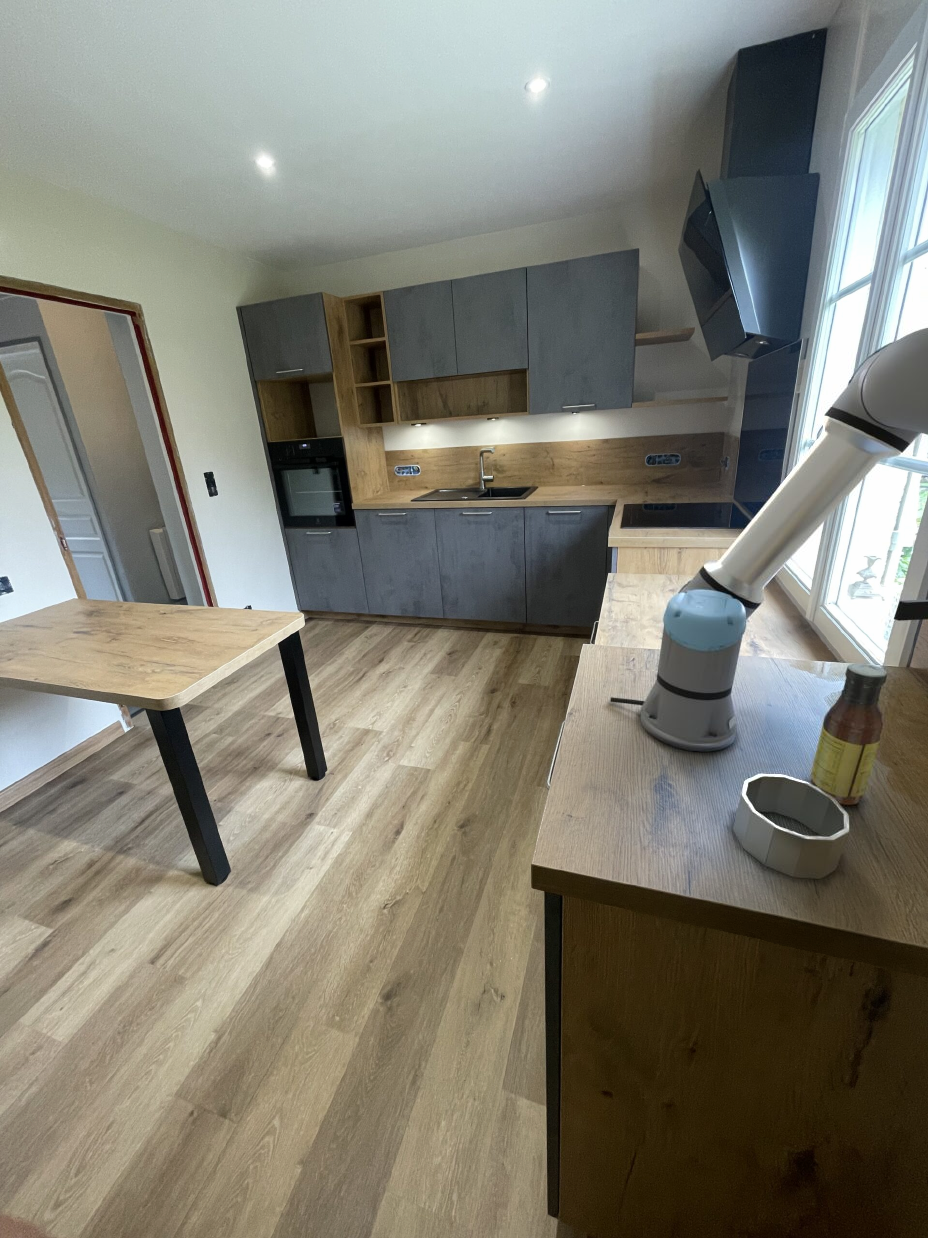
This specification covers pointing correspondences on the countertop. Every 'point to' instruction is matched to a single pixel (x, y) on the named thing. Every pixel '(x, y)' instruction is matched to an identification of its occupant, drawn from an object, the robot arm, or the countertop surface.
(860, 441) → the robot arm
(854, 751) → the sauce bottle
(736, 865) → the countertop surface
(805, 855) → the tin
